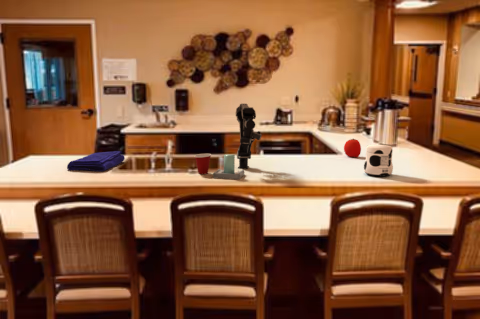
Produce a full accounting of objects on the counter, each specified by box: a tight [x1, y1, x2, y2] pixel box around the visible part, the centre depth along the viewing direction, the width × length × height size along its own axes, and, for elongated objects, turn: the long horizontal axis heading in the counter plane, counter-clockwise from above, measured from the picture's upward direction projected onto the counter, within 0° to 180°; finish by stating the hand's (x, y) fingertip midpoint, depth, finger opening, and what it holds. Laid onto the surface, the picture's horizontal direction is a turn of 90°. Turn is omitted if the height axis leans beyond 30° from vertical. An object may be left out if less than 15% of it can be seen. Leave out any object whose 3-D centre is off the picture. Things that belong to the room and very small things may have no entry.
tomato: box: [343, 138, 362, 158], centre depth 361 cm, size 13×11×14 cm
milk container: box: [363, 144, 394, 177], centre depth 298 cm, size 17×17×18 cm
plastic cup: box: [193, 153, 212, 175], centre depth 300 cm, size 11×11×12 cm
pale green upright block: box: [223, 153, 236, 174], centre depth 292 cm, size 6×6×12 cm
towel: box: [66, 150, 126, 173], centre depth 321 cm, size 26×36×9 cm
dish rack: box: [212, 168, 245, 180], centre depth 293 cm, size 14×16×3 cm
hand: (247, 152), depth 301 cm, fingers open, 9 cm apart
